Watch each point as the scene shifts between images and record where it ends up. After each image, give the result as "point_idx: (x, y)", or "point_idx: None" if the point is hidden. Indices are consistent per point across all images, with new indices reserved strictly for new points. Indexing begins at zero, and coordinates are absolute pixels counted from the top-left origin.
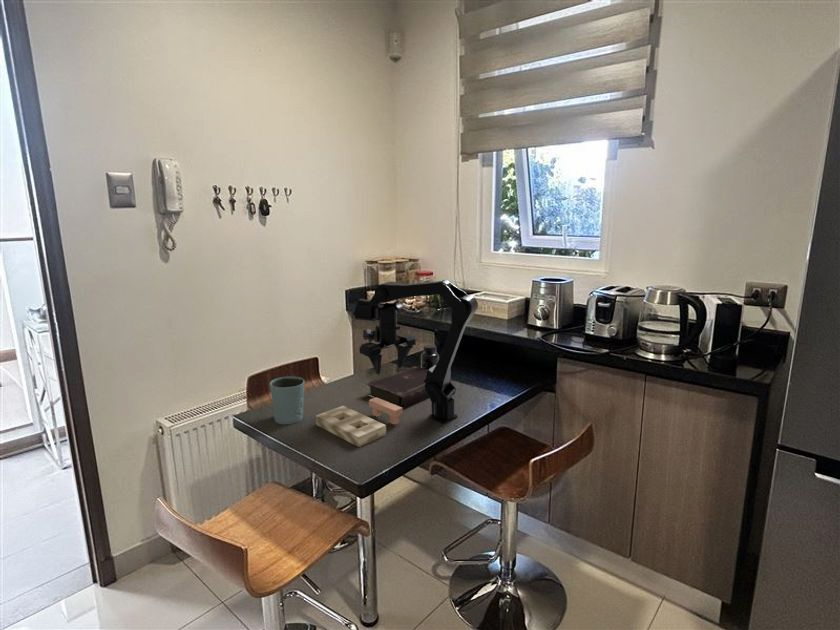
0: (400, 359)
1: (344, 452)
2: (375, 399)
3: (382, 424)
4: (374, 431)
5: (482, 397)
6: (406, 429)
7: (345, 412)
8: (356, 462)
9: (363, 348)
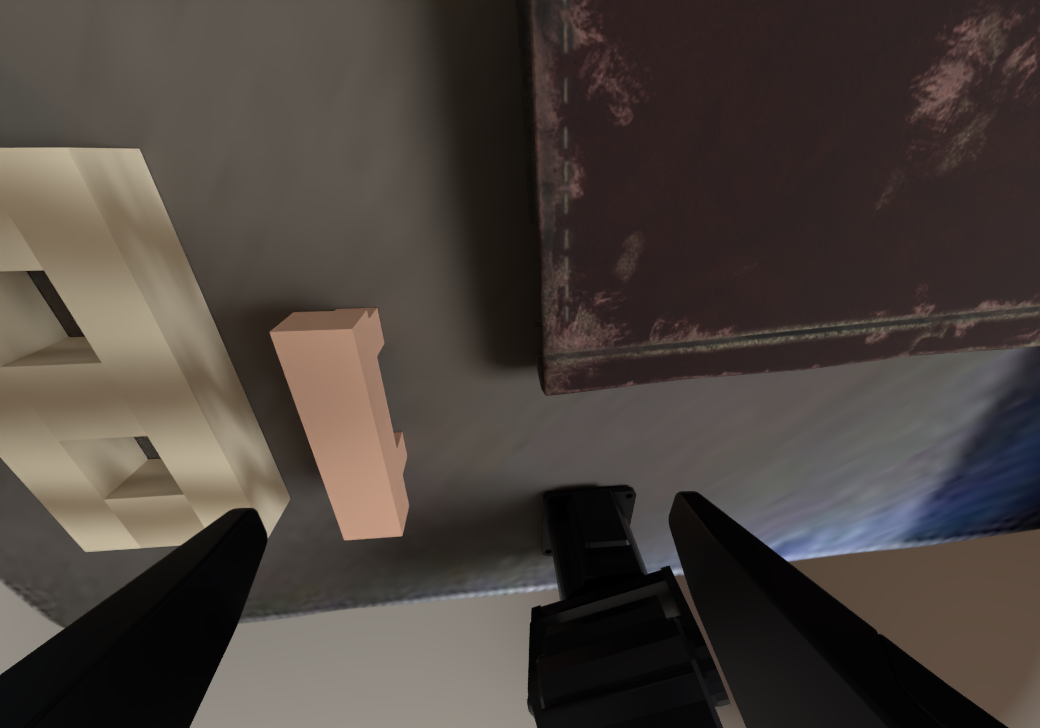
0: (743, 647)
1: None
2: (322, 360)
3: None
4: None
5: (855, 491)
6: None
7: (65, 285)
8: (89, 570)
9: None
